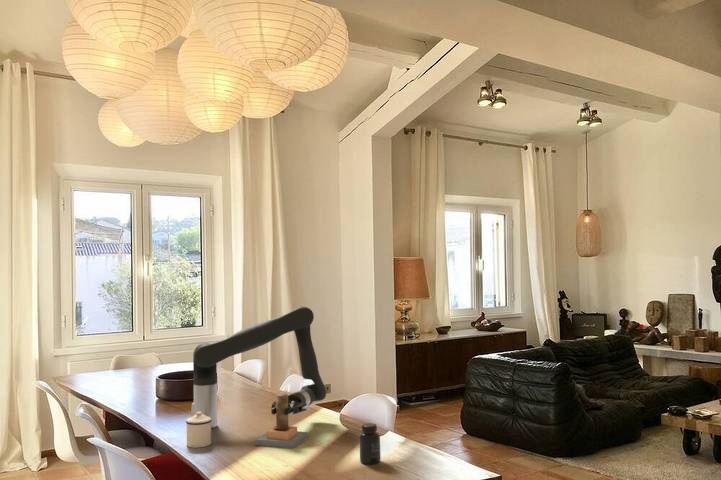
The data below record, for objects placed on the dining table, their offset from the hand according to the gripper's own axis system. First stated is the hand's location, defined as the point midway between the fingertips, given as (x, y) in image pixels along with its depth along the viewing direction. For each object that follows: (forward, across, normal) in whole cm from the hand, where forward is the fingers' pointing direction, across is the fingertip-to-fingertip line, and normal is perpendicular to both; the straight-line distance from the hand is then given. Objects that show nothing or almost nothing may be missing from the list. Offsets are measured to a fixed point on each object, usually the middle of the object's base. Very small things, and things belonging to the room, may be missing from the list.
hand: (279, 412), depth 225 cm
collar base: (-3, 0, +11) cm, 12 cm away
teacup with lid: (+8, -29, +11) cm, 32 cm away
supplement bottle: (+11, +38, +12) cm, 41 cm away
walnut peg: (-3, 0, +8) cm, 9 cm away
